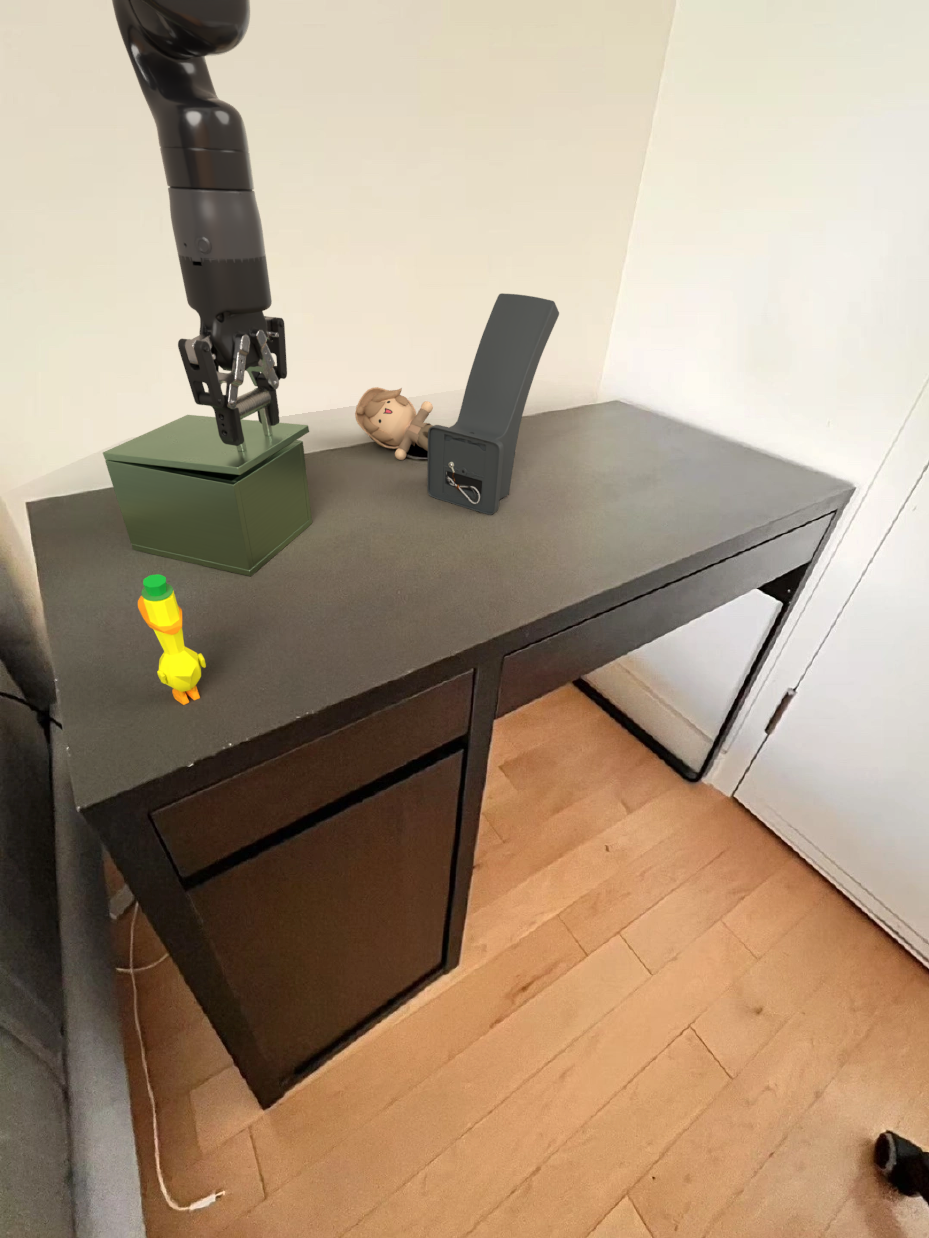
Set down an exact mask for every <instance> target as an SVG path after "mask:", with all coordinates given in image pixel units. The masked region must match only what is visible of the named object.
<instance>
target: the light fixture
mask: <svg viewBox="0 0 929 1238" xmlns="http://www.w3.org/2000/svg"><path fill="white" fill-rule="evenodd" d="M559 316H560V312H559V309H558V307H557V305H556V302H555V301H554V300H551V299H547V298H543V297H538V296H531V295H526V294H518V293H517V294H515V293H499V294H498V296H497V297H496V299H495V302H494V305H493V307H492V309H491V312H490V314H489V317H488V319H487V322H486V325H485V327H484V330H483V332H482V334H481V337H480V340H479V343H478V346H477V349H476V353H475V356H474V359H473V362H472V365H471V369H470V372H469V375H468V379H467V381H466V386H465V390H464V393H463V397H462V403H461V407H460V409H459V414H458V418H457V420H456V422H455V423H454V424H453V425H451V426H450V427H449V426H445V425H442V424H441V425H440V424H434V425H433V426H432V427H430V428H429V430H428V451H427V471H426V472H427V474H426V475H427V478H426V481H427V482H426V484H427V485H426V489H427V494H428V495H429V496H430V497H431V498H434V499H435V500H436V499H437V500H439V501H443V502H446V503H450V504H452V505H455V506H459V507H462V508H466V509H468V510H472V511H475V512H479V513H481V514H485V515H489V516H491V515H494V514H495V513H497V512H498V510H499V507H500V500H501V499H504V498H505V497H507V496H508V495H510V490H511V483H512V478H513V477H512V476H513V468H514V461H515V454H516V449H517V445H518V444H517V443H518V438H519V432H520V427H521V423H522V418H523V414H524V411H525V407H526V404H527V400H528V397H529V394H530V390H531V386H532V385H533V380H534V378H535V375H536V372H537V369H538V366H539V364H540V362H541V358H542V356H543V353H544V351H545V348H546V346H547V344H548V341H549V339H550V336H551V334H552V332H553V330H554V327H555V325H556V323H557V321H558V318H559Z"/></svg>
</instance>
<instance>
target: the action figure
mask: <svg viewBox="0 0 929 1238" xmlns="http://www.w3.org/2000/svg"><path fill="white" fill-rule="evenodd" d="M402 389H403V387H401V388H399V389H391V390H389V389H385V388H382V387H379V386H376V387H371V388H369V389H367V390H366V391H365V392H364V393H363V394H362V396H361V397H360V399H359V400H358V402H357V405H356V408H355V410H354V411H355V412H354V416H355V421H356V422H357V425H358V426H359V428H360V429H362V430H363V431H364V432H365V433H366V435H367V436H368V438H370V439H371V440H372V441H373V442H374V443H376V445H378V446H380V447H382V448H384V449H389V450H395V452H394V457H395V458H396V459H397V460H399V461H404V460H405V459H406V458H407V453H408V452H409V450H410V449H411V448H410V447H411V446H413V447H415V445H417V446H418V447H420V448H422V449H423V450H425V452H428V430H429V428H430V427H432V426H434V425H433V424H431V423H430V422H425V421H426V419H427V418H428V417H429V415H430V413H432V412H433V409H434V406H433V403H432V402H430V401H428V400H427V401H423V402H422V403H421V405H420V408H419V410H418V412H417V411H416V408H415V407H414V405H413V404H412V402H411V401H410V400H409V399H408V398H407V397H406V396H403V395H402V394H401V393H402Z"/></svg>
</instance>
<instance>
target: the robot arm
mask: <svg viewBox="0 0 929 1238" xmlns="http://www.w3.org/2000/svg"><path fill="white" fill-rule="evenodd" d="M111 2H112V7H113V12H114V16H115V21H116V23H117V28H118V30H119V33H120V36H121V39H122V41H123V46H124V48H125V50H126V52H127V56H128V58H129V60H130V63H131V66H132V68H133V72H134V74H135V77H136V80H137V82H138V85H139V87H140V90H141V92H142V95H143V97H144V99H145V102H146V105H147V106H148V108H149V109H148V110H149V111H150V113H151V117H152V119H153V120H154V124H155V127H156V132H157V139H158V145H159V150H160V155H161V160H162V166H163V170H164V175H165V180H166V181H165V182H166V186H167V187H168V188H167V191H168V198H169V213H170V220H171V226H172V232H173V237H174V241H175V246H176V252H177V256H178V262H179V266H180V271H181V276H182V282H183V287H184V291H185V297H186V302H187V304H188V306H189V307H190V308H191V309H192V310H193V311H195V312H196V313H197V314H198V316H199V332H198V333H199V335H197V336H195V337H193V338H180V339H179V340H178V342H177V349H178V352H179V355H180V358H181V361H182V364H183V367H184V371H185V374H186V377H187V380H188V384H189V387H190V390H191V394H192V397H193V399H194V403H195V404H196V405H200V406H207V407H211V408H212V410H213V411H214V417H216V422H217V425H218V426H217V427H218V432H219V436H220V438H221V440H222V442H223V443H225V444H228V445H234V446H239V445H241V444H242V443H244V437H243V431H242V426H241V420H240V414H239V408H237V407H236V405H237V397H239V395H238V394H239V387H240V386H242V385H243V384H244V382H245V381H244V379H245V372H247V374H248V376H249V378H250V380H251V382H252V384H253V386H254V387H255V388H254V389H256V388H259V387H264V388H266V389H267V390H268V391H269V392H270V394H271V397H272V402H271V404H270V405H269V406H267V407H268V412H269V417H270V422H271V426H275V425H277V424H278V423H281V422H280V410H279V403H278V395H277V390H278V389H279V386H280V381H281V379H282V380H285V379H286V378H287V377H288V368H287V367H288V364H287V363H288V362H287V346H286V344H287V343H286V328H285V327H286V326H285V320H284V319H283V318H282V317H276V316H269V315H268V316H267V315H264V311H266V310H268V309H270V308H271V306H272V301H273V300H272V293H271V285H270V277H269V270H268V262H267V261H268V260H267V253H266V247H265V239H264V232H263V230H264V229H263V224H262V219H261V214H260V211H259V207H258V202H257V198H256V192H255V191H254V190H255V186H254V178H253V170H252V163H251V155H250V146H249V140H248V135H247V130H246V126H245V122H244V119H243V117H242V114H241V113H240V111H239V110H238V109H237V108H236V107H234V105H232V104H230V103H228V102H226V101H224V100H222V99H220V98H219V96H218V95H217V93H216V90H215V87H214V84H213V80H212V77H211V74H210V70H209V67H208V63H207V61H206V57H217V56H221V55H225V54H227V53H230V52H231V51H232V50H234V49H236V48H237V47H238V46H239V45H240V44H241V43H242V42H243V40H244V38H245V37H246V34H247V32H248V29H249V25H250V22H251V21H250V19H251V0H111ZM272 354H274V355H275V359H276V360H274V357H273V355H272ZM275 361H276V363H275ZM219 368H220V369H222V371H226V372H229V373H226V372H221V371H220V370H219ZM204 384H205V385H206V386H207V391H206V390H205V387H204ZM222 384H226V386H225V394H223V390H222ZM256 413H257V418H258V421H259V422H260V423H261V424H262V421H261V416H260V412H259V411H257V412H256Z"/></svg>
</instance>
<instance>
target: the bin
mask: <svg viewBox="0 0 929 1238" xmlns="http://www.w3.org/2000/svg"><path fill="white" fill-rule="evenodd" d="M104 461H105V465H106V468H107V471H108V475H109V477H110V481H111V484H112V487H113V490H114V494H115V497H116V500H117V503H118V506H119V509H120V512H121V516H122V519H123V523H124V526H125V528H126V532H127V536H128V539H129V541H130V544H131V547H132V550H133V551H136V552H137V551H138V552H141V553H145V554H149V555H150V554H151V555H154V556H158V557H164V558H168V559H172V560H176V561H182V562H184V563H185V562H186V563H190V564H194V565H198V566H203V567H207V568H212V569H217V570H220V571H221V570H222V571H224V572H229V573H234V574H239V575H243V576H248V577H252V576H253V575H254V574H256V573H257V572H258V571H259V570H260V569H261V568H262V567H264V566H265V565H266V564H267V563H268V562H269V561H271V560H272V559H273V558H275V556H276V555H278V554H279V553H280V552H281V551H282V550H283V549H284V548H286V547H287V546H288V545H289V544H290V543H292V542H293V541H294V540H295V539H296V538H297V537H298V536H300V535H301V534H302V533H303V532H304V531H305V530H306V529H307V528H309V527H310V526H311V525H312V524H313V520H312V510H311V502H310V493H309V483H308V476H307V467H306V458H305V448H304V441H303V440H300V439H297V440H295V441H294V442H292V443H290V444H289V445H287V446H286V447H284V448H282V449H281V450H279V451H278V452H276V453H274V454H273V455H271V456H270V457H268V458H266V459H265V460H263V461H262V462H260V463H258V464H257V465H255V466H254V467H252V468H250V469H249V470H247V471H246V472H244V473H242V474H241V475H236V474H227V473H218V472H209V471H200V470H192V469H183V468H174V467H165V466H157V465H148V464H139V463H130V462H122V461H113V460H105V459H104Z"/></svg>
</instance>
